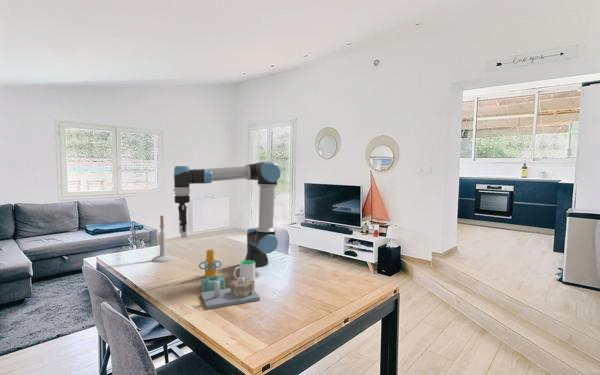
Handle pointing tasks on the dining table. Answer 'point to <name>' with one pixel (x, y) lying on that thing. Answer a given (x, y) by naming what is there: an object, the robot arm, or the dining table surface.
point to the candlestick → (162, 245)
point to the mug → (246, 270)
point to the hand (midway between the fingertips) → (182, 235)
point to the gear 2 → (242, 288)
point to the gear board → (225, 297)
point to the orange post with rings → (210, 263)
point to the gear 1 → (212, 282)
